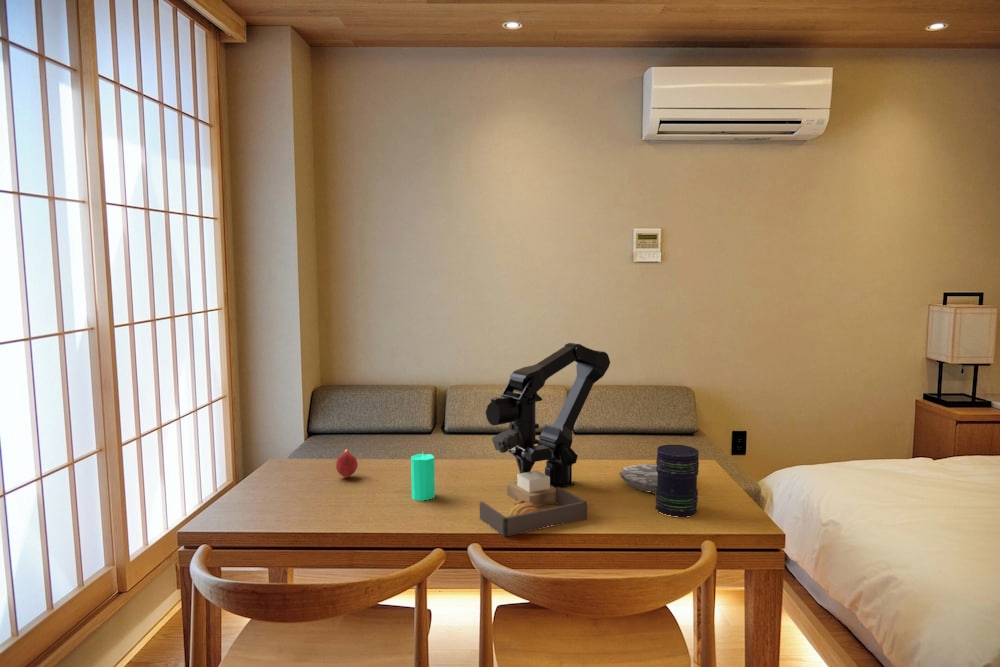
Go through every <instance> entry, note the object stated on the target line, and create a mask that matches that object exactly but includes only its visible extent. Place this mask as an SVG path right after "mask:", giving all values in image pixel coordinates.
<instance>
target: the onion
mask: <svg viewBox="0 0 1000 667" xmlns="http://www.w3.org/2000/svg"><path fill="white" fill-rule="evenodd" d="M335 463H336V464H335V467H336V471H337V473H338V474H339V475H340V476H341V477H344V478H346V479H349V478H350V477H352V476H353V475H354V473H355V472H356V471H357V469H358V461H357V458H356V457H355V456H354V455H353V454H352V453H351V452H350V450H349V449H345V450H344V451H343V453H342V454H341V455H339V457H338V458H337V459H336V462H335Z"/></svg>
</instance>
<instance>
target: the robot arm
mask: <svg viewBox="0 0 1000 667" xmlns="http://www.w3.org/2000/svg"><path fill="white" fill-rule="evenodd" d="M574 362H575V363H576V364H575V366H576V367H575V368H576V378H575V380H574V382H573V384H572V386H571V388H570V390H569V392H568V394H567V396H566V399H565V400H564V403H563V404H562V407H561V409H560V411H559V413H558V414H557V418H555V421H554V423H552V424H550V425H548V424H545V425H544V426H543V427H542V431H541V433H540V435H539V436H537V437H538V439H537V438H536V429H539V428H540V426H539V423H537V422H536V420H537V419H536V415H537V414H536V411H537V410H536V404H537V402H542V401H543V398H542V397H541V396H540V395H539V394H538V392H539V391H540V390H541V389H542V388H543V387H544V386H545V383H546V381H547V380H548V379H549V378H550V377H551V378H552V376H554V375H555V374H557V373H558V372H560V371H562V370H563V369H564V368H566V367H568V366H569V365H571V364H573V363H574ZM610 365H611V361H610V357H609V355H608V353H607V352H605V351H602V350H601V351H600V350H594V349H593V348H588V347H587V346H584V345H582V344H581V343H575V342H568V343H565V345H564V346H563V347H561V348H560V349H558V350H557V351H555V352H552V354H550V355H549V356H546V357H545V358H544V359H542V360H541V361H539V362H537V363H536V364H533V365H528V366H523V367H521V368H518V369H515V370H514V371H513V372H512V373H511V374H510V376H509V380H508V381H507V383H506V385H505V387H504V389H503V391H502V392H501V394H500V397H497V396H495V397H491V398H490V402H489V403H488V404H487V407H486V409H485V415H486V420H487V421H488V423H489V424H490V425H491V426H499V425H505V424H509V426H508V429H506V430H504V431H502V432H500V433H498V434H496V435H495V436H492V437H491V440H492V443H493V444H492V445H493V446H494V448H495V451H498V452H499V453H502V454H504V453H507V452H508V453H509V454H511V455H512V456H513V457H514V459H515V461H516V463H517V466H518V470H519V474H520V473H525V472H531V471H532V469H533V467H534V465H535V464H536V462H541V461H542V462H543V461H545V465H546V466H545V467H544V474H545V475H547V476H549V477H550V485H551V486H553V487H555V488H556V487H560V488H564V487H569V486H574V485H575V486H576V482H575V481H573V479H572V476H573V470H572V469H573V468H572V466H573V465H574V464H576V463H577V461H578V454H577V453H576V452H575V451H574V450H573V449H572V448H571V447H572V444H573V432H572V431H573V428H574V426H575V424H576V422H577V421H578V418H579V416H580V414H581V412H582V410H583V407H584V405H585V403H586V400H588V399H587V398H588V397H589V394H590V393H591V391H592V388H593V386H594V385H595V383H596V382H598V381H599V380H600V379H601V378H603V377H604V376H605V374H606V372H607V371H608V370H609V368H610Z"/></svg>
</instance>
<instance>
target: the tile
mask: <svg viewBox="0 0 1000 667" xmlns="http://www.w3.org/2000/svg"><path fill="white" fill-rule="evenodd" d="M516 482H517V485H518V486H519V487H521V488H523V489H524V490H526V491H528V492H534V491H540V490H545V489H550V477H549V476H547V475H545V473H543V472H541V471H540V470H538V469H537V470H533V471H532V470H531V471H530V472H525V473H520V472H519V473H517V475H516Z"/></svg>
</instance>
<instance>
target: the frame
mask: <svg viewBox="0 0 1000 667" xmlns="http://www.w3.org/2000/svg"><path fill="white" fill-rule="evenodd" d="M555 504H556V505H558V506H554V507H550V508H545V509H544V508H543V509H541V510H540V509H539V511H534V512H530V513H525V514H520V515H515V516H510V515H509V516H507V517H506V516H505V515H503V514H502V513H501V512H499V511H497V510H496V509H494V508H493V507H492V506H490V505H489V504H487V503H486V502H484V501H479V520H481V519H482V520H483V521H482V520H481V521H482V522H484V521H485V522H486V523H487V524H486V523H485V522H484V523H485V524H486V525H488V524H489V525H490V526H492V527H493V528H494V529H495V530H494V529H493V528H492V527H491V528H492V529H493V530H494V531H496V530H497V531H498V532H497V531H496V532H497V533H499V534H500V535H501V536H503V537H504V538H506V537H509V536H511V537H512V536H515V535H519V533H520V534H522V533H521V532H525V533H527V532H526V531H529V532H531V531H530V530H534V531H536V530H535V529H538V530H540V529H539V528H542V529H544V528H543V527H547V526H551V525H556V526H558V525H557V524H560V525H563V524H562V523H565V524H568V523H567V522H569V523H573V522H572V521H574V522H578V521H581V520H582V519H583V520H588V501H586V500H584V499H582V498H581V497H578V496H577V495H575V494H573V493H571V492H569V491H567V490H565V489H563V487H556V503H555ZM489 525H488V526H489ZM490 526H489V527H490ZM551 527H552V526H551ZM547 528H548V527H547Z"/></svg>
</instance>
